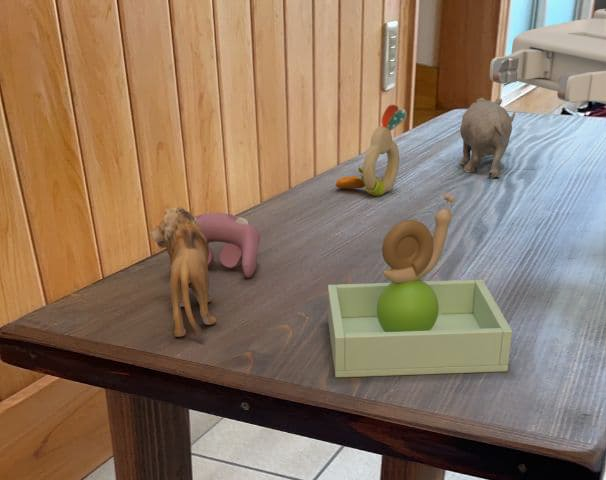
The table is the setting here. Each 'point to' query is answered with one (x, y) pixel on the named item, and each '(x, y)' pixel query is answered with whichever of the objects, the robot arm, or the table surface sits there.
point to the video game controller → (231, 240)
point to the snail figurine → (411, 274)
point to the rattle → (379, 145)
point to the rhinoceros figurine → (485, 134)
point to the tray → (418, 333)
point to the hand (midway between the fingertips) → (527, 79)
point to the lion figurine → (185, 265)
